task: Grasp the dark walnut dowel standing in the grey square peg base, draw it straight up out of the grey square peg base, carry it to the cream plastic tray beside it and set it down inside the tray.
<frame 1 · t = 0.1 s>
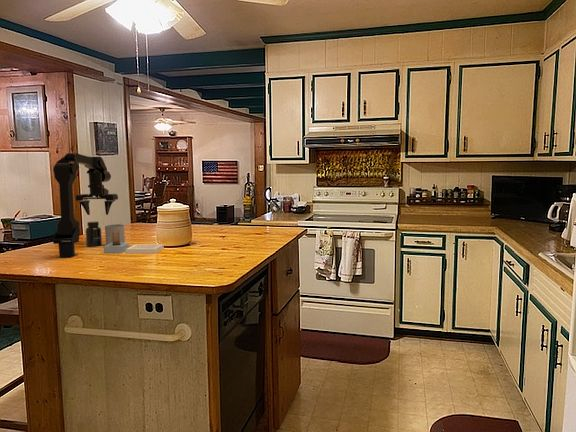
hand: (97, 215, 212), 15 cm above the countertop, fingers open, 9 cm apart
tray: (145, 251, 195), on the countertop
dowel: (116, 251, 194), resting on grey square peg base
supplement bottle: (94, 247, 208), on the countertop
cup: (115, 246, 209), on the countertop
grey square peg base: (116, 252, 194), on the countertop
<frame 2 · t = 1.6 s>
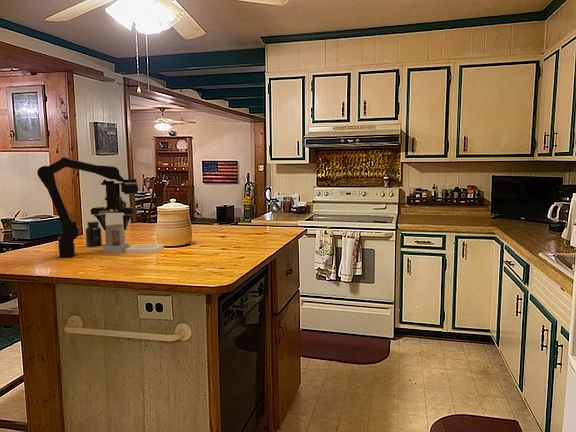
hand: (115, 230, 193), 10 cm above the countertop, fingers open, 9 cm apart
nothing on the countertop moved.
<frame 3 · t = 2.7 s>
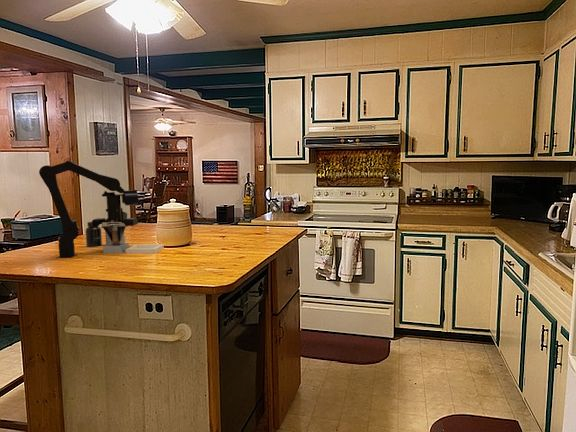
hand: (116, 241, 194), 5 cm above the countertop, fingers closed on dowel, 3 cm apart
dowel: (116, 251, 194), point 1 cm above the countertop, touching grey square peg base, gripper
everything else where it was.
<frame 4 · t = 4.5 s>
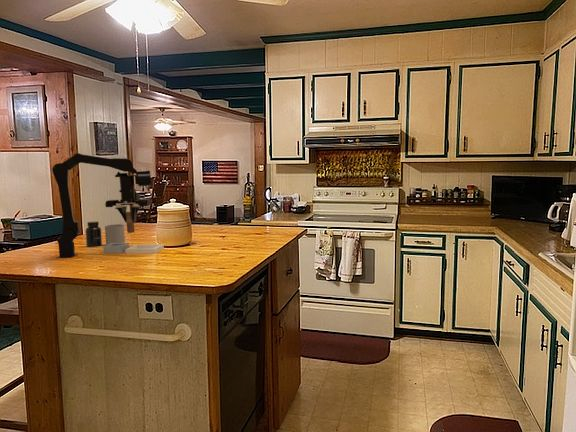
hand: (130, 222, 193), 13 cm above the countertop, fingers closed on dowel, 3 cm apart
dowel: (131, 232, 194), point 9 cm above the countertop, touching gripper
everything else where it was.
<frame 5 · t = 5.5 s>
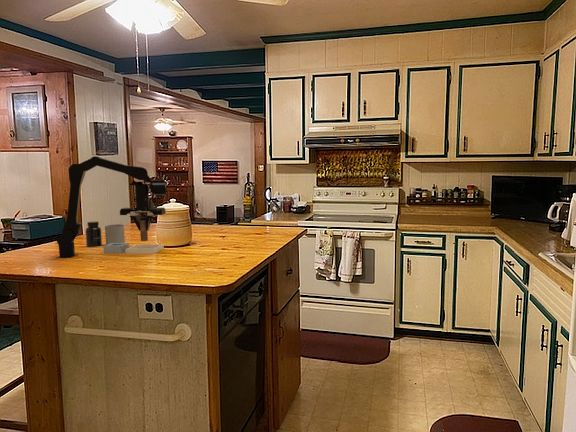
hand: (143, 230, 193), 10 cm above the countertop, fingers closed on dowel, 3 cm apart
dowel: (144, 240, 194), point 5 cm above the countertop, touching gripper
everything else where it was.
when the fingers open (6 cm above the countertop, at t = 6.3 s): dowel drops 1 cm, resting on tray.
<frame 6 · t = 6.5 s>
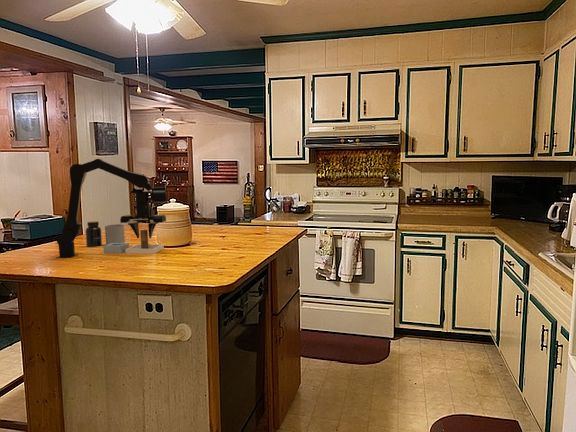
hand: (144, 238, 194), 6 cm above the countertop, fingers open, 5 cm apart
dowel: (145, 250, 194), point 1 cm above the countertop, touching tray
everything else where it was.
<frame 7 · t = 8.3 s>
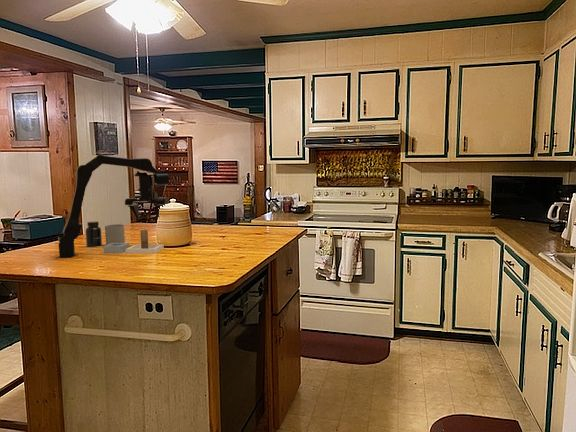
hand: (148, 219, 201), 13 cm above the countertop, fingers open, 9 cm apart
nothing on the countertop moved.
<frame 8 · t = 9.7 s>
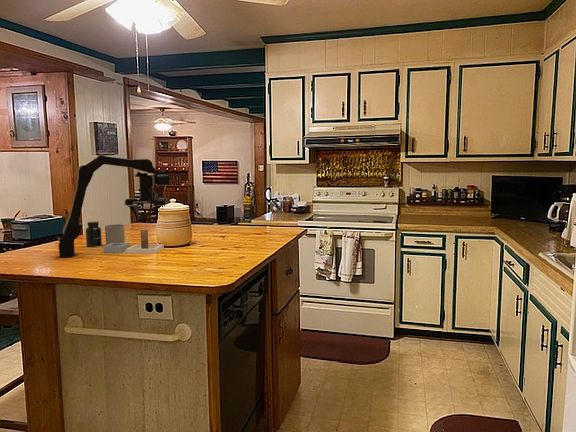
hand: (148, 220, 202), 13 cm above the countertop, fingers open, 9 cm apart
nothing on the countertop moved.
at the end: dowel inside the target area on the tray (0.0 cm from its centre), point 0.6 cm above the tray's base; dowel touching tray; the gripper is holding nothing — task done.
